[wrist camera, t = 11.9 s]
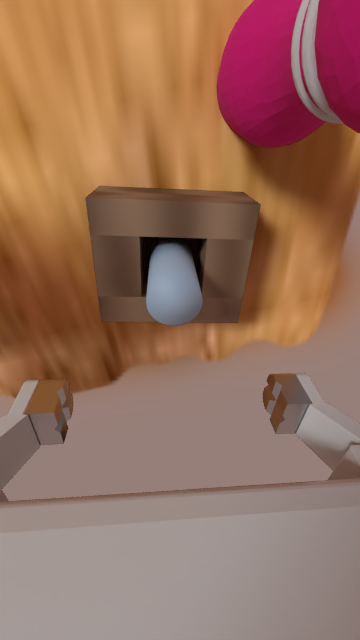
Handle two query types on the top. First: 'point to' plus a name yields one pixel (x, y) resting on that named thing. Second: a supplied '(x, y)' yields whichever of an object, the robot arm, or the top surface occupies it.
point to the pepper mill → (291, 70)
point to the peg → (172, 282)
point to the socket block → (178, 222)
